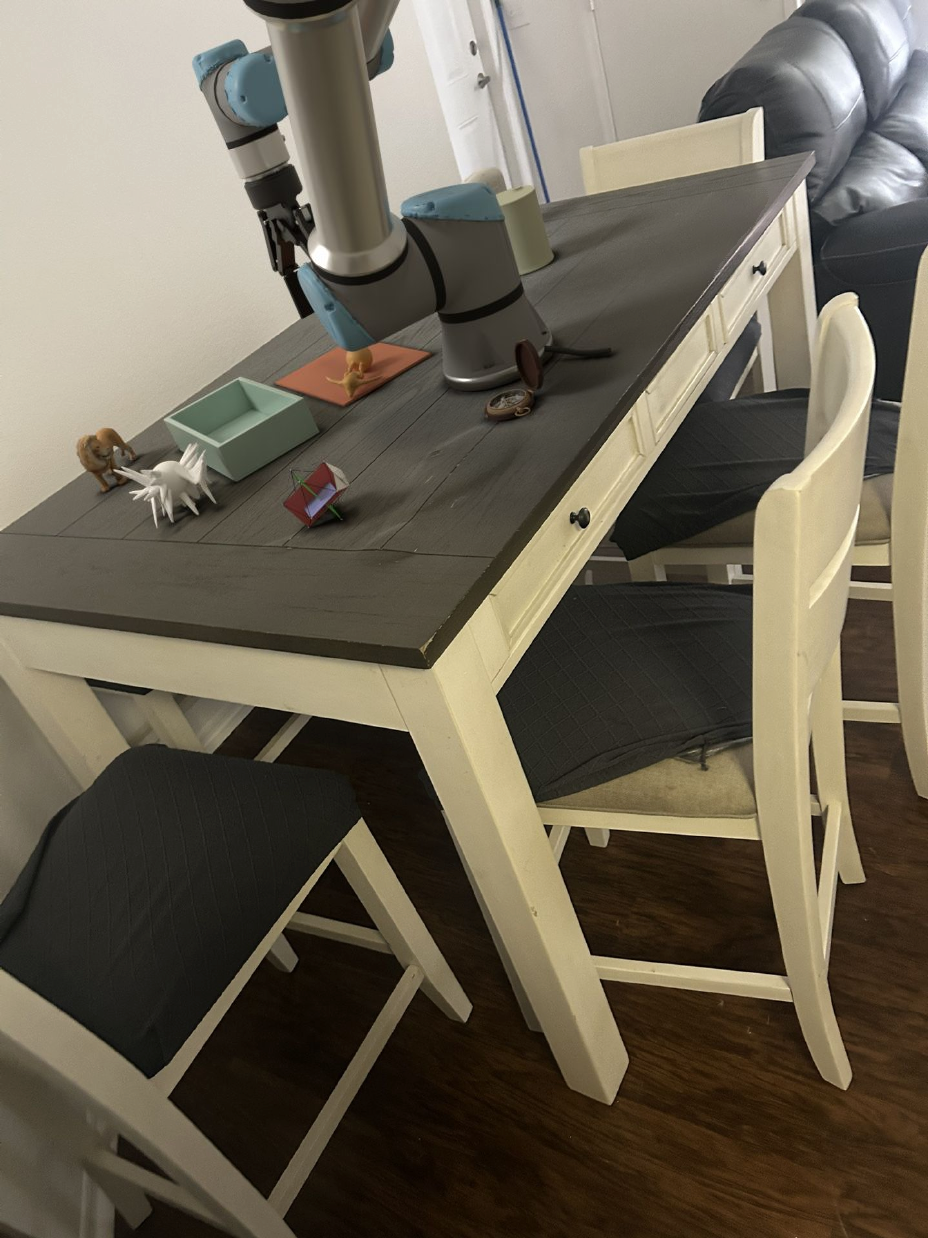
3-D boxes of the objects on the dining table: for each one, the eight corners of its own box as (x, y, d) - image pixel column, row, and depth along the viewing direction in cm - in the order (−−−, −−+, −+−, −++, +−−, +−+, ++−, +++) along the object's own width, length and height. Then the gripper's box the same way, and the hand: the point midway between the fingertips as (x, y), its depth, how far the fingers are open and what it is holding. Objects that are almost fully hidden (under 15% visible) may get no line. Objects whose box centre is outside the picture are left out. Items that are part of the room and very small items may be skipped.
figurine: (336, 359, 142) (326, 416, 136) (329, 327, 137) (318, 385, 131) (389, 358, 142) (382, 415, 135) (384, 327, 137) (377, 384, 130)
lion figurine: (132, 489, 134) (99, 434, 129) (98, 503, 134) (63, 449, 129) (139, 451, 146) (109, 400, 141) (108, 464, 146) (77, 413, 141)
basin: (319, 432, 128) (303, 397, 125) (236, 482, 123) (218, 447, 120) (255, 407, 145) (240, 376, 142) (180, 450, 140) (163, 419, 137)
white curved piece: (505, 228, 181) (486, 161, 174) (521, 226, 178) (502, 159, 171) (469, 250, 177) (449, 183, 170) (485, 249, 173) (464, 181, 167)
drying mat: (431, 355, 138) (430, 352, 137) (344, 406, 132) (343, 404, 132) (355, 339, 156) (354, 337, 156) (276, 384, 150) (275, 382, 150)
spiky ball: (229, 520, 117) (205, 460, 112) (136, 550, 116) (107, 491, 111) (223, 485, 126) (200, 428, 121) (137, 512, 125) (111, 457, 120)
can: (563, 250, 157) (544, 177, 150) (538, 273, 152) (517, 198, 145) (517, 257, 163) (497, 187, 156) (492, 279, 157) (470, 207, 150)
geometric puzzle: (284, 534, 101) (300, 465, 98) (271, 512, 107) (285, 446, 104) (346, 543, 104) (363, 475, 101) (330, 521, 110) (346, 456, 107)
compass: (478, 414, 115) (459, 360, 111) (533, 386, 116) (516, 332, 112) (504, 432, 109) (486, 375, 104) (562, 403, 110) (546, 345, 106)
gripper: (330, 155, 119) (390, 312, 131) (254, 165, 138) (312, 301, 150) (281, 178, 116) (347, 336, 128) (211, 185, 135) (274, 322, 147)
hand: (328, 318), depth 139 cm, fingers open, 13 cm apart
